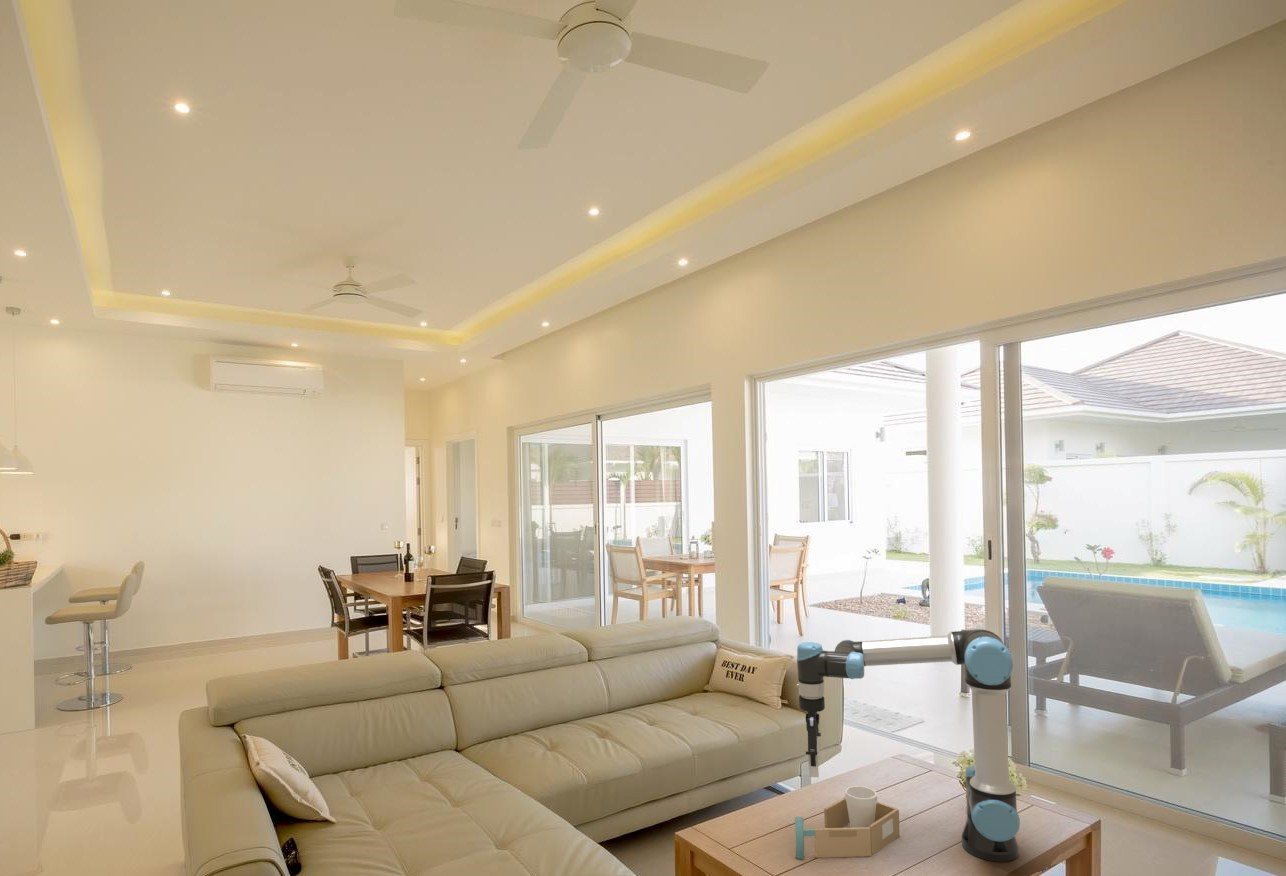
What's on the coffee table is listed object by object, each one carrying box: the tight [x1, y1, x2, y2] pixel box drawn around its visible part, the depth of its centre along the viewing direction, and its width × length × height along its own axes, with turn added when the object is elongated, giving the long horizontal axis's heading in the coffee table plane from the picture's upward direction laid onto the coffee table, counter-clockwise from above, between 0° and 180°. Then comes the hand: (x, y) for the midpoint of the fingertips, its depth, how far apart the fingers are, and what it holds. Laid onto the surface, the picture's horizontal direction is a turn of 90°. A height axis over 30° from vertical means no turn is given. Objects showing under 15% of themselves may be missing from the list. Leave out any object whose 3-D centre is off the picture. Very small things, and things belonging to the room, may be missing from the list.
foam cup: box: [844, 785, 878, 828], centre depth 223 cm, size 10×9×13 cm
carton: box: [823, 797, 901, 856], centre depth 223 cm, size 16×16×8 cm
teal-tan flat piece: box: [794, 816, 872, 860], centre depth 211 cm, size 22×2×11 cm, turn 91°
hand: (814, 767), depth 218 cm, fingers open, 13 cm apart
